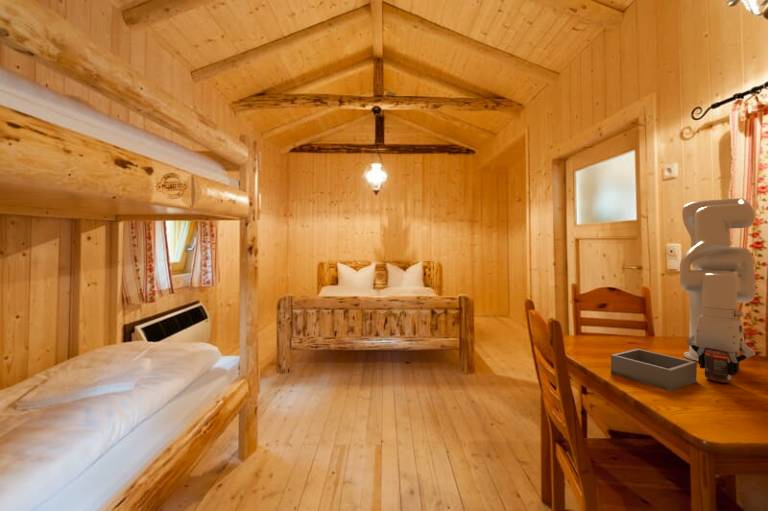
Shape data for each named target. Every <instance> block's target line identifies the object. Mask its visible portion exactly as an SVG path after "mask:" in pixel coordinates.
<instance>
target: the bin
mask: <svg viewBox="0 0 768 511" xmlns="http://www.w3.org/2000/svg"><path fill="white" fill-rule="evenodd" d="M697 364H698V361H694V360H690V359H685V358H680V357H675V356H671V355H667V354H663V353H658V352H654V351H649V350H645V349H641V348H634V349H630V350H626V351H622V352H617V353H614V354H610V374H612V375H615V376H619V377H622V378H626V379H629V380H632V381H636V382H639V383H642V384H645V385H649V386H651V387H655V388H657V389H661V390H664V391H669V392H673V391H676V390H678V389H681V388H683V387H686V386H688V385H692V384H694V383H697V378H698V377H697V375H698V374H697V373H698V372H697V371H698V370H697V369H698V368H697Z"/></svg>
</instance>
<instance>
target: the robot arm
mask: <svg viewBox="0 0 768 511" xmlns="http://www.w3.org/2000/svg"><path fill="white" fill-rule="evenodd" d="M681 216H682V221H683V224H684V227H685V229H686V231H687V232H688V235H689V237H690V249H688V250H687V251H686V253H685V254H684V255H683V256H682V257H681V259H680V263H679V283H680V288H681V289H682V290H683V291H684V292H687V294H688V295H687V296H688V301H689V302H688V303H689V304H688V305H689V337H688V338H687V339H686V340H685V343H686V344H687V345H688V346H689V351H684V352H683V356H684V357H685V358H687V359H688V360H690V361H694V362H697V364H698V365H699V367H700V369H705V350H706V349H707V348H708V349H716V350H720V351H723V352H728V354H729V356H730V358H731V362H730V363H729V375H731V376H732V377H734V376H736V375H737V374H739V373H740V362H742V361H744V360H746V359H748V358H750V357H752V356H755V355H756V352H755V351H754V350H753V349H751V347H750V346H748V344H747V343H745V337H744V330H743V328H744V327H743V324H742V321H741V319H739V318H738V317H744V313H745V312H743V311H739V309H738V308H737V307H738V306H737V305H738V304H737V303H744V304H745V303H750V302H752V301H753V300H755V297H756V294H757V293H756V279H755V278H756V277H755V265H754V256H753V254H752V252H751V250H749V249H748V248H745V247H742V246H731V234H730V229H747V228H750V227H751V226H753V224H754V222H755V212H754V208H753V206H752V205H751V203H749V202H748V201H747V200H746V199H745V198H724V199H709V200H705V199H704V200H697V201H692V202H689V203H686V204H685V205H684V206H683V207H682V210H681ZM691 265H692V268H693V269H691ZM743 351H744V353H743V354H741V355H739V352H743Z"/></svg>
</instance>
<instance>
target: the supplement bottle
mask: <svg viewBox="0 0 768 511" xmlns="http://www.w3.org/2000/svg"><path fill="white" fill-rule="evenodd" d="M730 362H731V358H730V356H729V354H728V352H723V351H720V350H716V349H708V348H707V349H706V350H705V368H704V377H705V378H706V379H708V380H710V381H713V382H717V383H722V384H723V383H727V384H728V383H729V384H730V383H731V382H732V379H733V376H731V375H729V363H730Z"/></svg>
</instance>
